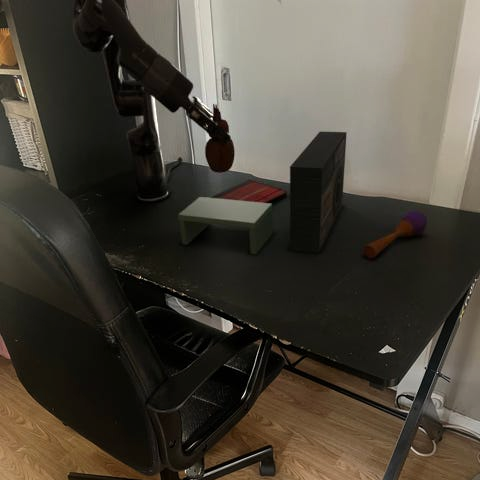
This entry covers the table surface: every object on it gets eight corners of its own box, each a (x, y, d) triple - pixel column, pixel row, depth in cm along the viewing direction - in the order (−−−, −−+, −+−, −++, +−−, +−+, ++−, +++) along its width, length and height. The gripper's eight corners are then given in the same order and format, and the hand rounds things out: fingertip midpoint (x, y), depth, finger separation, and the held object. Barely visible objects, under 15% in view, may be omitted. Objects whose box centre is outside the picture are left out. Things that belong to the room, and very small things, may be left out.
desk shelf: (203, 225, 131) (200, 196, 126) (272, 233, 124) (272, 203, 119) (182, 244, 122) (178, 214, 117) (255, 254, 115) (254, 223, 110)
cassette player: (319, 253, 113) (321, 168, 102) (290, 250, 116) (289, 166, 104) (342, 206, 135) (346, 132, 124) (317, 204, 138) (319, 131, 126)
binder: (202, 199, 140) (248, 178, 153) (202, 206, 142) (248, 185, 154) (244, 213, 131) (289, 189, 144) (244, 221, 133) (289, 197, 145)
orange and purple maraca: (357, 238, 110) (409, 205, 119) (360, 261, 112) (410, 228, 122) (378, 241, 105) (431, 207, 114) (381, 265, 108) (432, 231, 117)
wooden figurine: (221, 177, 109) (216, 106, 100) (202, 172, 112) (196, 103, 103) (239, 168, 113) (236, 99, 105) (221, 163, 116) (216, 97, 108)
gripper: (177, 73, 94) (241, 131, 102) (176, 64, 106) (234, 116, 113) (154, 105, 97) (219, 159, 104) (156, 92, 108) (213, 142, 116)
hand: (226, 137), depth 109 cm, fingers closed on wooden figurine, 5 cm apart
